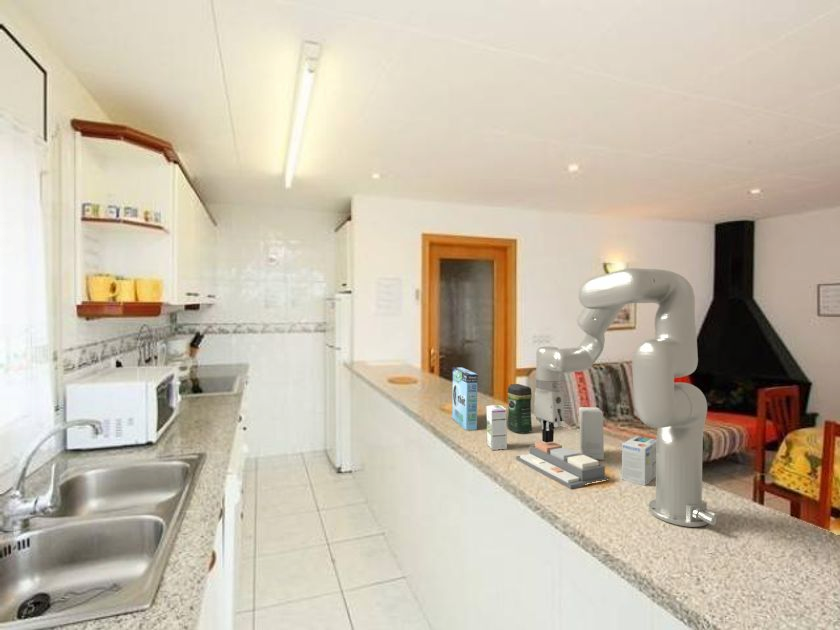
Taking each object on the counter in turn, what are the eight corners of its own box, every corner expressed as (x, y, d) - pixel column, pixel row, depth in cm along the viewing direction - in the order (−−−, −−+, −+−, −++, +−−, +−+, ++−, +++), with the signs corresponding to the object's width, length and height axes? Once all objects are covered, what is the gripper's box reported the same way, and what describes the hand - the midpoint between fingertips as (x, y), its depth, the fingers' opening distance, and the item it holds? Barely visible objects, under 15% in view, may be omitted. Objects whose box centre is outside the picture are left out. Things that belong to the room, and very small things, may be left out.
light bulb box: (634, 469, 134) (634, 434, 134) (658, 475, 129) (658, 439, 129) (620, 479, 127) (621, 442, 126) (645, 486, 122) (646, 447, 122)
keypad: (609, 480, 126) (609, 466, 126) (570, 488, 120) (570, 474, 120) (550, 453, 149) (550, 441, 149) (516, 459, 143) (515, 447, 143)
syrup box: (507, 449, 153) (507, 408, 153) (491, 450, 152) (491, 409, 152) (501, 444, 159) (501, 404, 159) (486, 445, 158) (486, 405, 158)
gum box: (452, 419, 195) (451, 367, 195) (463, 418, 196) (462, 367, 196) (466, 431, 176) (466, 374, 176) (478, 430, 177) (478, 373, 177)
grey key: (579, 461, 134) (579, 453, 134) (563, 464, 131) (563, 455, 131) (565, 455, 139) (565, 447, 139) (550, 457, 137) (550, 449, 137)
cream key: (598, 469, 127) (598, 461, 127) (582, 472, 124) (582, 464, 124) (583, 462, 132) (583, 454, 132) (567, 465, 130) (567, 457, 130)
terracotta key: (562, 453, 141) (562, 445, 141) (546, 456, 138) (546, 448, 138) (549, 447, 146) (549, 440, 146) (534, 450, 144) (534, 442, 144)
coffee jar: (535, 432, 173) (535, 385, 173) (518, 435, 170) (518, 387, 170) (521, 426, 182) (521, 382, 182) (504, 428, 179) (504, 383, 179)
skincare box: (604, 460, 142) (604, 412, 142) (582, 459, 143) (582, 411, 143) (598, 452, 150) (599, 406, 150) (578, 451, 151) (578, 406, 151)
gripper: (573, 388, 136) (573, 446, 137) (542, 380, 150) (542, 433, 151) (554, 390, 133) (554, 450, 134) (524, 382, 147) (524, 436, 148)
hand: (547, 441), depth 142 cm, fingers closed
